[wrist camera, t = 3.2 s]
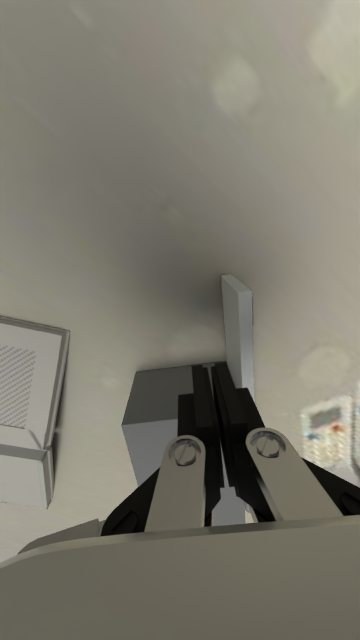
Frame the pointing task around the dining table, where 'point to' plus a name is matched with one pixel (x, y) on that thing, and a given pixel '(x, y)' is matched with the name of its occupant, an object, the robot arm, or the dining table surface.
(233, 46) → the dining table surface
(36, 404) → the gadget
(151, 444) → the gray box with knob
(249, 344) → the side door
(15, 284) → the dining table surface
